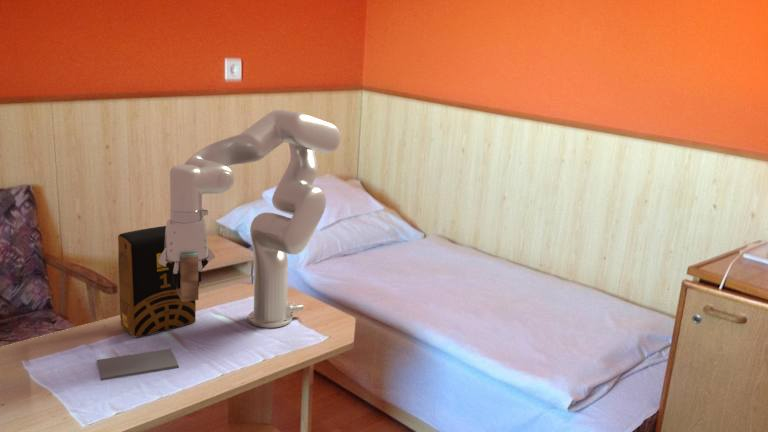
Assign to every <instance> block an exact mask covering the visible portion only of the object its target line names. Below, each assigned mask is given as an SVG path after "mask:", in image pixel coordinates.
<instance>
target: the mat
mask: <svg viewBox="0 0 768 432" xmlns="http://www.w3.org/2000/svg"><path fill="white" fill-rule="evenodd" d="M96 363H97V369H98V373H99V377H100V381H105V380H112V379H118V378H122V377H130V376H135V375H142V374H148V373H154V372H155V373H156V372H159V371H166V370H173V369H177V368H179V365H180V364H179V363H178V361H177V359H176V356H175V354H174V352H173V349H172V348H171V347H170V348H165V349H159V350H152V351H146V352H140V353H139V352H138V353H132V354H126V355H125V354H124V355H118V356H114V357H106V358H105V357H104V358H101V359H96Z"/></svg>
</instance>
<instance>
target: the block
mask: <svg viewBox="0 0 768 432" xmlns="http://www.w3.org/2000/svg"><path fill="white" fill-rule="evenodd" d="M178 270H179V273H180V289H177V287H176V292H177V294H178V295H179V297H180V299H181V300H182V302H184V301H193V300H196V301H198V300H199V287H198V253H187V254H181V258H180V264H179V269H178Z"/></svg>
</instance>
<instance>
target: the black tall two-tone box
mask: <svg viewBox="0 0 768 432" xmlns="http://www.w3.org/2000/svg"><path fill="white" fill-rule="evenodd" d="M165 230H166V225H162V226H155V227H149V228H143V229H136V230H131V231H126V232H123V233H120V234H118V236H117V242H118V249H117V250H118V251H117V252H118V255H117V256H118V260H117V263H118V283H119V284H118V285H119V287H118V288H119V315H120V317H119V318H120V325H121V326H122V328H123V329H124V330H125V331H126V332H128V334H130V335H131V336H133V337H134V338H139V337H144V336H149V335H152V334H153V335H154V334H157V333H161V332H165V331H169V330H173V329H177V328H180V327H184V326H188V325H191V324H194V323H196V318H197V315H196V313H197V312H196V311H197V309H196V305H197V304H196V301H197V300H193V301H184V302H182V300H181V299H180V297H179V295H178V294H177V292H176V286H175V285H173V272H172V271H171V270H169V269H168V268H167V267H166V266H163V265H161V264H159V262H158V258H159V257H160V255H161V254H162V252H163V251H164V243H165ZM166 261H168V258H166ZM169 262H170V261H169ZM170 263H171V264H172V262H170Z"/></svg>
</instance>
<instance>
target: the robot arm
mask: <svg viewBox="0 0 768 432" xmlns="http://www.w3.org/2000/svg"><path fill="white" fill-rule="evenodd" d="M341 140H342V139H341V133H340V131H339V129H338V127H337V126H336V125H335V124H333V123H331V122H328V121H325V120H323V119H320V118H317V117H314V116H312V115H309V114H307V113H302V112H298V111H294V110H293V111H292V110H285V109H274V110H272V111H270V112H268V113H267V114H265V116H262V118H260V119H259V120H258V121H256V122H255V123H253V124H252V125H251V126H249V127H247V128H246V129H245V130H244V131H242V132H241V133H239V134H236V135H233V136H229V137H226V138H224V139H221V140H219V141H216V142H213V143H210V144H208V145H206V146H205V147H203V148H201V149H200V150H198V151H197V152H196V153H194V154H193V155H192V156H190V157H189V158H188V159H187V160H186V161H185V162H184V164H177V165H174V166H172V167H171V168H170V170H169V202H170V203H169V207H170V209H169V211H170V212H169V213H170V214H169V215H170V217H169V218H170V219H168V220H167V221H166V225H165V226H166V230H165V243H164V251H163V252H162V254H161V255H160V257H159V258H158V262H159V264H161V265H163V266H166V267H167V268H168V269H169V270H171V271H172V272H173V285H175V286H176V287H177V289H180V273H179V270H178V269H179V264H180V258H181V254H187V253H198V288H199V287H200V283H201V282H202V271H203V270H204V268H205V267H206V266H207V265H208V264H209V262H212V261H213V260H214V259H215V258H216V256H215V254H214V253H213V252H212V250H211V249H210V248H209V241H208V231H207V225H206V221H205V219H204V216H208V215H209V210H208V209H204V208H203V195H207V194H209V195H210V194H211V195H212V194H216V195H217V194H218V195H219V194H222V193H225V192H227V191H229V190H230V189H231V188H232V187H233V185H234V182H235V175H234V171H233V170H232V169H231V168H230V166H232V165H233V166H234V165H244V164H250V163H256V162H260V161H261V160H262V159H264V158H265V157H266V156H267V155H270V153H271V152H273V151H274V150H275V149H276V148H278V147H279V146H280V145H282V144H283V143H288V145H289V151H290V153H289V154H290V158H289V163H288V164H287V167H286V169H285V171H284V173H283V175H282V177H281V178H280V180H279V182H278V184H277V186H276V188H275V190H274V192H273V195H272V198H271V203H272V206H273V207H274V208H275V209H276V210H277V211H279V212H281V213H283V214H288V215H291V217H288V216H285V215H282V214H278V213H274V212H262V213H259V214H257V215H256V216H255V217H253V219H252V221H251V224H250V229H249V230H250V231H249V232H250V240H251V243H252V244H251V245H252V250H253V310H252V311H251V312H249V314H248V316H247V318H248V322H249V323H250V324H251V325H253V326H255V327H259V328H265V329H266V328H267V329H268V328H269V329H273V328H280V327H284V326H286V325H288V324H290V323H291V322H292V320H293V314H294V312H295V313H296V312H303V311H304V305H303V304H301V303H300V304H297V302H291V303H289V302H288V285H289V284H288V277H289V271H288V270H289V259H288V255H294V256H295V255H299V254H300V253H302V252H303V251H304V250H305V249H306V247H307V246H308V244H309V243H310V241H311V238H312V237H313V235H314V233H315V231H316V230H317V227H318V226H319V223H320V222H321V219H322V217H323V215H324V212H325V210H326V204H327V198H326V195H325V193H324V191H323V190H322V189H321V188H320V187H319V186H316V185H313V183H314V181H315V180H316V178H317V174H318V172H319V171H318V170H319V165H318V160H317V157H316V152H317V153H320V154H326V155H327V154H331V153H333V152H335V151H336V150H337V149H338V148H339V146H340V143H341ZM166 258H168V261H166ZM169 261H170V262H172V264H171V263H170V262H169Z"/></svg>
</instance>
